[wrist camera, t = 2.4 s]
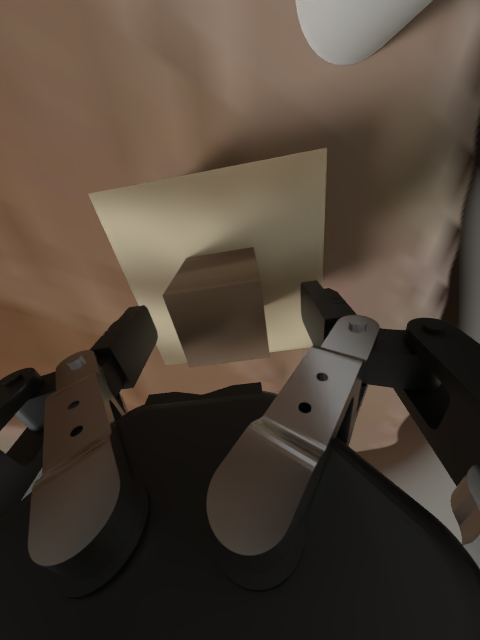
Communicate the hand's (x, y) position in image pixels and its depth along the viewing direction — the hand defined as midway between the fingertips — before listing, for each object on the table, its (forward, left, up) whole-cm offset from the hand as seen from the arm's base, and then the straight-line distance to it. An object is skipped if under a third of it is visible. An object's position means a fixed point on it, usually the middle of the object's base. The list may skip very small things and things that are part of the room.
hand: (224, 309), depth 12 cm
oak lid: (0, 0, -4) cm, 4 cm away
